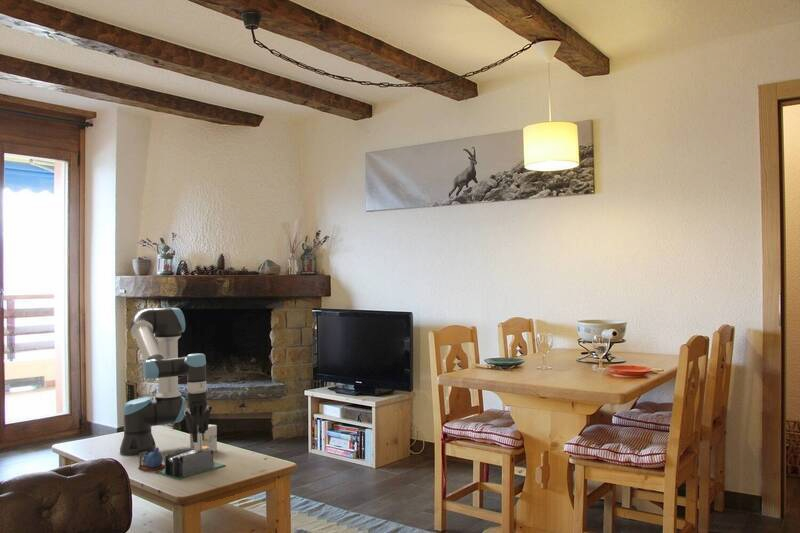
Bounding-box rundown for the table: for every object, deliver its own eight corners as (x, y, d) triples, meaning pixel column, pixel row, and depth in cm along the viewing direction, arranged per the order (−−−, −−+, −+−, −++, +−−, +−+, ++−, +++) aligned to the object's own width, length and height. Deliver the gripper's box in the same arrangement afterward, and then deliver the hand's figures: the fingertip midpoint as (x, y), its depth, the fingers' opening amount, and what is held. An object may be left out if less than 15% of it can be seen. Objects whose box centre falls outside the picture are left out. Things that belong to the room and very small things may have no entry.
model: (170, 467, 270) (169, 445, 271) (149, 473, 263) (148, 450, 263) (154, 463, 278) (153, 441, 278) (133, 468, 271) (133, 446, 271)
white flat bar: (173, 463, 257) (172, 459, 257) (167, 461, 259) (166, 457, 259) (209, 450, 270) (209, 446, 270) (203, 449, 273) (203, 445, 273)
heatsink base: (155, 473, 263) (155, 453, 263) (202, 460, 280) (201, 442, 280) (178, 479, 253) (178, 459, 253) (225, 466, 270) (225, 447, 270)
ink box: (189, 453, 292) (189, 427, 292) (202, 449, 300) (201, 423, 300) (205, 455, 289) (204, 428, 289) (217, 450, 297) (217, 424, 297)
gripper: (188, 395, 261) (189, 454, 260) (216, 389, 272) (218, 447, 271) (177, 393, 266) (178, 452, 265) (205, 388, 276) (206, 444, 276)
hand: (198, 449), depth 268 cm, fingers closed, pressing on white flat bar
